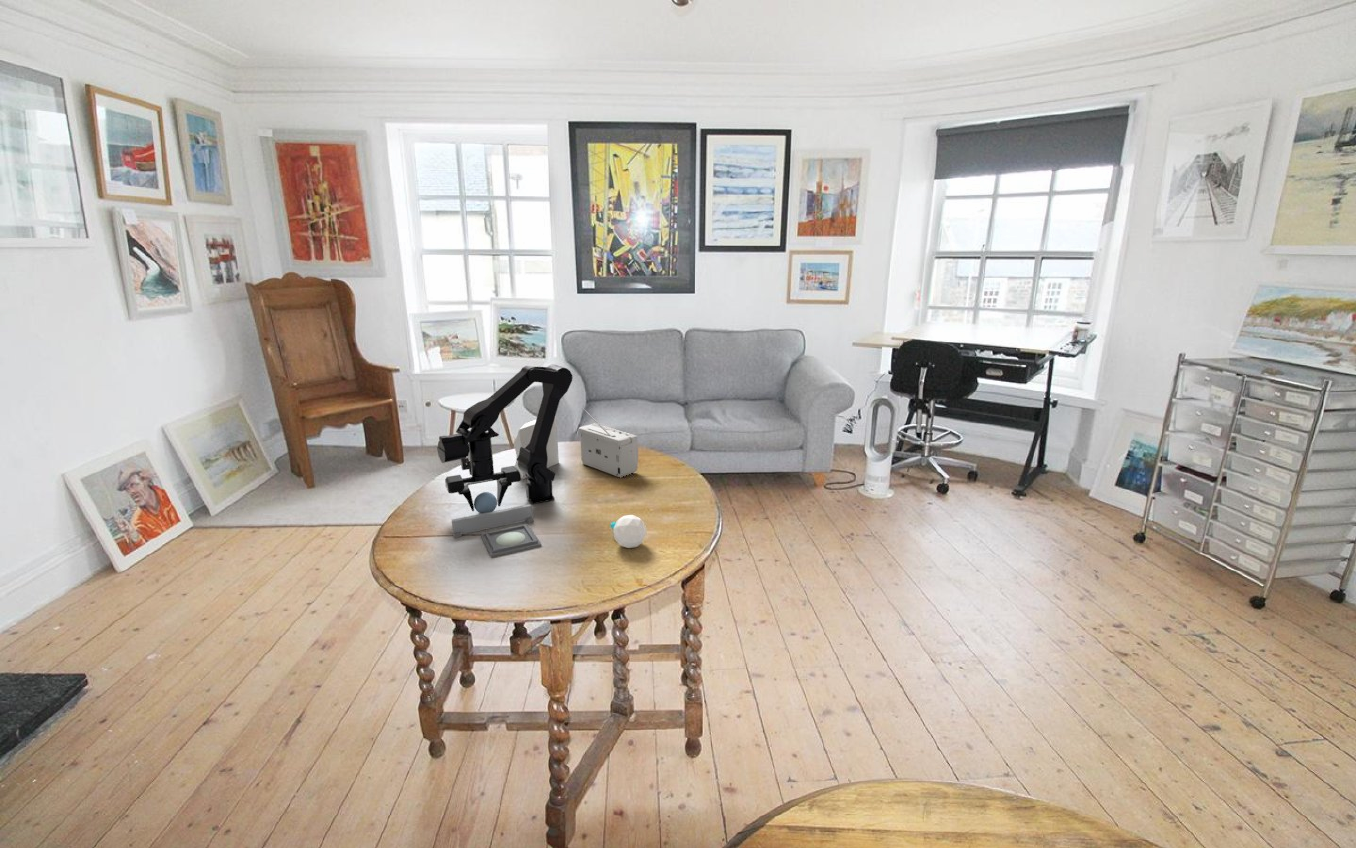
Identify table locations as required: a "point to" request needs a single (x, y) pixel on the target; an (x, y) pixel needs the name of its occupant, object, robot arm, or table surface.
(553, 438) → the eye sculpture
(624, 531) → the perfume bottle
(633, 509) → the table surface
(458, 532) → the long gray bar
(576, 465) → the table surface
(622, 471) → the stereo radio cassette player
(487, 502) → the ball
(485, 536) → the gray square tray
